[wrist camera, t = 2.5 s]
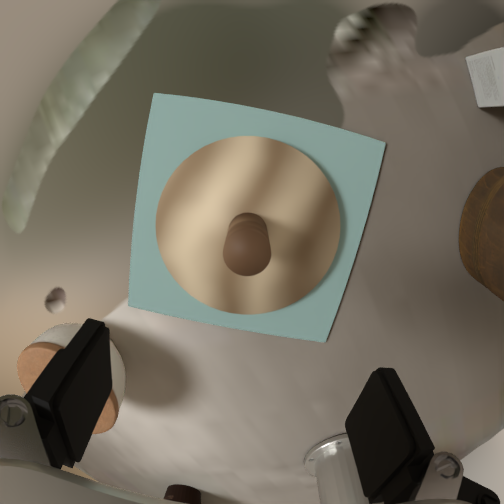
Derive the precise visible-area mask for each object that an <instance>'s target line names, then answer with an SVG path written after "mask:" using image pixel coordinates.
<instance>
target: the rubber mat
mask: <svg viewBox="0 0 504 504" xmlns="http://www.w3.org/2000/svg"><path fill="white" fill-rule="evenodd" d="M237 136H259V137H266V138H270V139H274V140H277V141H280V142H283V143H285V144H287V145H290V146H292V147H294V148H295V149H297V150H298V151H300V152H302V153H303V154H304V155H306V156H307V157H308V158H309V159H310V160H312V161H313V162H314V163H315V164H316V165H317V167H318V168H319V169H320V170H321V171H322V172H323V174H324V175H325V177H326V178H327V180H328V181H329V183H330V185H331V187H332V189H333V191H334V194H335V197H336V200H337V203H338V208H339V213H340V226H341V227H340V239H339V243H338V248H337V251H336V254H335V257H334V259H333V262H332V264H331V265H330V267H329V269H328V271H327V272H326V274H325V275H324V277H323V278H322V280H321V281H320V282H319V283H318V284H317V285H316V286H315V287H314V288H313V289H312V290H311V291H310V292H309V293H308V294H307V295H305V296H304V297H302V298H301V299H299V300H298V301H296V302H295V303H293V304H291V305H289V306H287V307H284V308H281V309H279V310H276V311H272V312H268V313H262V314H254V315H243V314H234V313H228V312H224V311H220V310H217V309H215V308H212V307H209V306H207V305H206V304H204V303H202V302H200V301H198V300H197V299H195V298H194V297H192V296H191V295H190V294H188V293H187V292H186V291H185V290H184V289H183V288H182V287H181V286H180V285H179V284H178V283H177V282H176V281H175V280H174V278H173V277H172V275H171V274H170V272H169V271H168V269H167V267H166V265H165V263H164V261H163V259H162V257H161V254H160V251H159V248H158V243H157V239H156V227H155V224H156V212H157V207H158V202H159V199H160V196H161V194H162V191H163V189H164V187H165V185H166V183H167V181H168V179H169V178H170V176H171V175H172V174H173V172H174V171H175V170H176V168H177V167H178V166H179V165H180V164H181V163H182V162H183V161H184V160H185V159H186V158H188V157H189V156H190V155H191V154H193V153H194V152H196V151H197V150H199V149H201V148H202V147H204V146H206V145H208V144H211V143H213V142H215V141H218V140H222V139H226V138H230V137H237ZM385 144H386V143H385V142H382V141H379V140H376V139H373V138H369V137H366V136H363V135H360V134H357V133H354V132H350V131H347V130H343V129H340V128H336V127H333V126H329V125H326V124H322V123H318V122H315V121H310V120H307V119H303V118H298V117H295V116H290V115H286V114H281V113H277V112H272V111H268V110H263V109H258V108H253V107H248V106H243V105H238V104H232V103H226V102H220V101H214V100H207V99H201V98H193V97H186V96H178V95H168V94H159V93H154V95H153V100H152V105H151V110H150V115H149V120H148V126H147V132H146V137H145V142H144V148H143V154H142V161H141V168H140V175H139V182H138V190H137V197H136V206H135V215H134V226H133V235H132V248H131V261H130V278H129V300H128V306H130V307H134V308H138V309H142V310H147V311H151V312H155V313H160V314H164V315H169V316H173V317H178V318H183V319H188V320H193V321H198V322H203V323H208V324H213V325H218V326H223V327H229V328H234V329H240V330H246V331H251V332H257V333H263V334H270V335H276V336H282V337H289V338H296V339H303V340H310V341H318V342H326V339H327V337H328V334H329V332H330V329H331V326H332V323H333V321H334V318H335V315H336V312H337V310H338V307H339V304H340V301H341V298H342V295H343V293H344V290H345V287H346V284H347V281H348V278H349V275H350V272H351V268H352V265H353V262H354V259H355V256H356V253H357V249H358V246H359V243H360V240H361V236H362V233H363V229H364V226H365V222H366V219H367V215H368V212H369V208H370V205H371V201H372V197H373V193H374V190H375V186H376V182H377V178H378V174H379V170H380V166H381V161H382V157H383V153H384V148H385Z"/></svg>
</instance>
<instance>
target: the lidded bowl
mask: <svg viewBox="0 0 504 504" xmlns="http://www.w3.org/2000/svg"><path fill="white" fill-rule="evenodd" d="M82 325H83V324H78V323H65V324H60V325H57V326H54V327H52V328H50V329H48V330H47V331H45V332H44V333H42V334H41V335H40V336H39V337H37V338H36V339H35V340H34V341H33V342H32V343H31V344H30V345H29V346H28V347H26V348H25V349H24V350H23V352H22V353H21V354H20V356H19V358H18V362H17V369H18V376H19V379H20V382H21V384H22V386H23V388H24V390H25V392H26V393H27V392H28V391H29V389H30V388H31V387H32V385H33V384H34V382H35V381H36V379H37V378H38V377H39V375H40V374H41V373H42V371H43V370H44V368H45V367H46V366H47V364H48V363H49V362H50V360H51V359H52V358H53V356H54V355H55V354H56V352H57V351H58V350H59V349H61V348H63V349H65V348H66V346H67V345H68V344H69V342H70V341H71V340H72V338H73V337H74V336H75V334H76V333H77V332H78V330H79V329H80V328H81V326H82ZM110 356H111V371H112V390H111V393H110V395H109V398H108V400H107V402H106V404H105V406H104V408H103V411H102V413H101V415H100V417H99V420H98V422H97V424H96V426H95V429H94V431H93V433H92V434H99V433H103V432H106V431H108V430H109V429H111V428H112V427H113V426H114V424H115V422H116V419H117V417H118V412H119V409H120V406H121V404H122V401H123V397H124V393H125V387H126V373H125V367H124V363H123V361H122V358H121V356H120V354H119V352H118V350H117V349H116V347H115V345H114V343H113V342H112V340H111V339H110Z"/></svg>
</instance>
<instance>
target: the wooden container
mask: <svg viewBox="0 0 504 504" xmlns="http://www.w3.org/2000/svg"><path fill="white" fill-rule="evenodd" d="M459 249H460V255H461V258H462V261H463V264H464V266H465V268H466V270H467V271H468V272H469V274H470V275H471V276H472V277H473V278H475V279H476V280H477V281H478V282H480V283H481V284H482V285H484V286H485V287H486V288H488V289H489V290H490V291H491V292H492V293H494V294H495V295H496V296H498V297H499V298H500V299H502V300H503V301H504V167H500V168H495V169H493V170H491V171H489V172H488V173H487V174H485V175H484V176H483V177H482V178H481V179H480V180H479V181H478V182H477V184H476V185H475V187H474V188H473V190H472V191H471V193H470V195H469V197H468V199H467V201H466V204H465V206H464V209H463V213H462V217H461V222H460V229H459Z"/></svg>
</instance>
